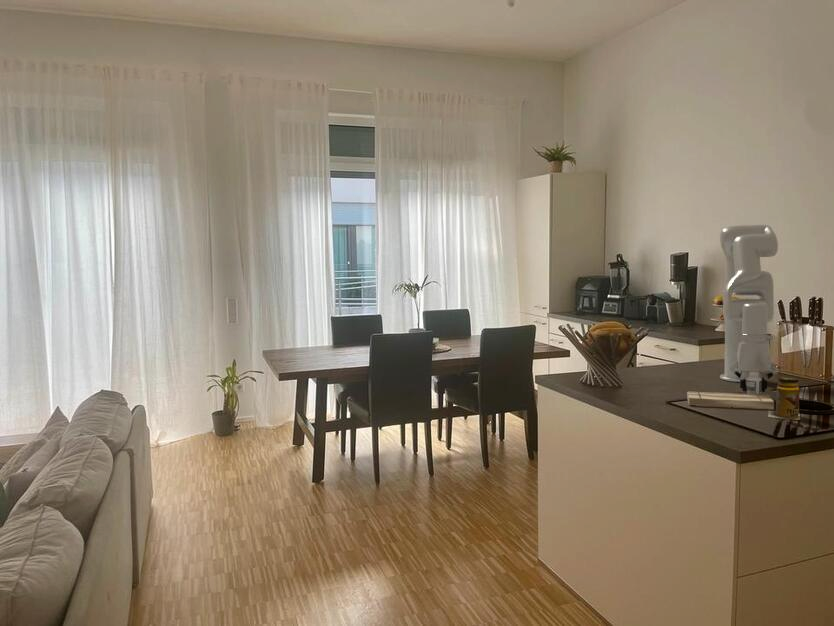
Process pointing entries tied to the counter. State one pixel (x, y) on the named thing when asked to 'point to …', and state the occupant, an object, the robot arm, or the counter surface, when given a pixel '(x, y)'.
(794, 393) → the condiment
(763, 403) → the plank
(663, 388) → the counter surface
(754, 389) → the pill bottle
